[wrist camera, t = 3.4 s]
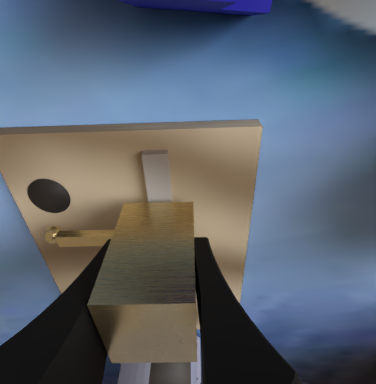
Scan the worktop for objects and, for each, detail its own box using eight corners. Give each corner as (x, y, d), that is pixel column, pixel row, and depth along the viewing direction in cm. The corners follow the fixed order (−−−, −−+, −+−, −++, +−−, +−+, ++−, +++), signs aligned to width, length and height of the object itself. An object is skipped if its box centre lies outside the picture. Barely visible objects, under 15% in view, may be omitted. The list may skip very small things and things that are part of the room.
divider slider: (194, 250, 15) (197, 362, 10) (60, 253, 16) (-3, 364, 11) (193, 196, 13) (195, 303, 8) (36, 200, 13) (-57, 307, 8)
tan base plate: (234, 316, 22) (248, 404, 17) (83, 319, 22) (53, 405, 17) (257, 119, 12) (303, 183, 7) (-4, 128, 13) (-130, 195, 8)
